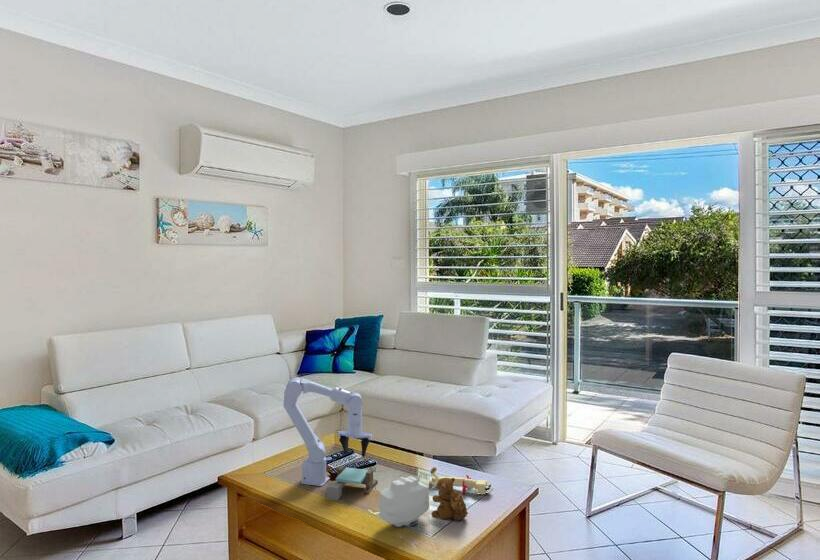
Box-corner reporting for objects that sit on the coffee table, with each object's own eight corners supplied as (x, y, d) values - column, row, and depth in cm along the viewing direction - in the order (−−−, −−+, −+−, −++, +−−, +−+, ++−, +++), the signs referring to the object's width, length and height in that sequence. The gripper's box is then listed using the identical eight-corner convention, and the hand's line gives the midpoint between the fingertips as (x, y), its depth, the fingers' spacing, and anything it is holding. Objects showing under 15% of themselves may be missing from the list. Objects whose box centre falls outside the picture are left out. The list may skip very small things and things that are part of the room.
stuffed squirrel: (445, 504, 194) (446, 470, 193) (475, 518, 183) (476, 482, 183) (427, 513, 187) (427, 477, 186) (457, 528, 177) (457, 490, 176)
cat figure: (427, 493, 206) (489, 498, 197) (425, 471, 206) (488, 476, 197) (434, 483, 215) (494, 488, 207) (433, 462, 215) (492, 466, 207)
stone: (326, 499, 197) (326, 486, 197) (330, 494, 201) (330, 481, 201) (337, 500, 196) (337, 487, 196) (341, 495, 200) (341, 482, 200)
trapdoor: (335, 489, 201) (335, 478, 200) (346, 478, 211) (346, 467, 211) (359, 493, 198) (359, 481, 198) (369, 481, 209) (369, 470, 208)
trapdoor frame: (335, 488, 206) (335, 470, 206) (345, 478, 216) (345, 460, 215) (369, 493, 202) (369, 474, 202) (377, 482, 212) (377, 464, 212)
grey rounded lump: (433, 521, 181) (433, 476, 180) (390, 537, 170) (391, 489, 170) (414, 509, 190) (414, 466, 189) (372, 523, 179) (373, 478, 178)
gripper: (334, 424, 212) (334, 456, 212) (368, 427, 208) (368, 460, 208) (341, 418, 219) (341, 450, 219) (374, 421, 215) (373, 454, 215)
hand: (354, 455), depth 214 cm, fingers open, 7 cm apart
